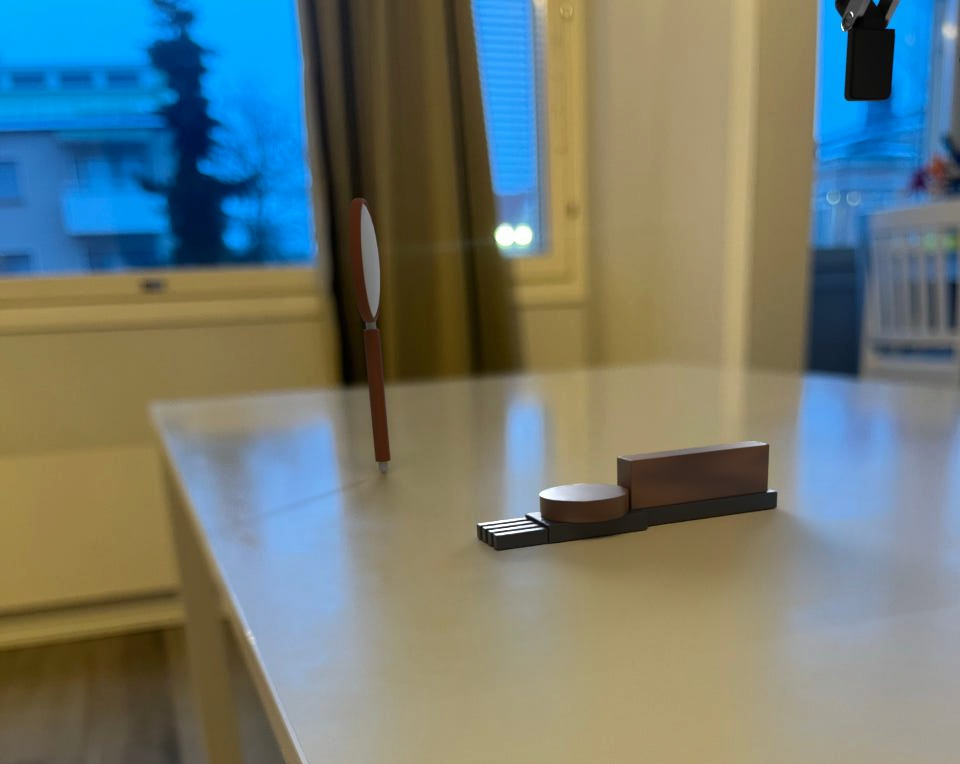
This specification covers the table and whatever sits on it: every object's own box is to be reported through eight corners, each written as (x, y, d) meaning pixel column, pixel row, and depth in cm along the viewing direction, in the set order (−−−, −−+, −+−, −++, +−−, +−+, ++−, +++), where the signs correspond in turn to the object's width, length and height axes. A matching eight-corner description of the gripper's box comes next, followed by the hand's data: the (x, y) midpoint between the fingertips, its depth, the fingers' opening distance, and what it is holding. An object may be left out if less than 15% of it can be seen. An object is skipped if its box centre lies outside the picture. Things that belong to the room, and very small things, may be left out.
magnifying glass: (387, 483, 74) (361, 191, 67) (364, 484, 74) (336, 193, 67) (401, 464, 82) (379, 202, 76) (381, 464, 82) (357, 203, 76)
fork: (749, 499, 61) (750, 483, 61) (784, 509, 58) (785, 493, 58) (476, 537, 56) (475, 519, 56) (497, 550, 53) (496, 532, 53)
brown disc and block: (735, 482, 62) (737, 437, 61) (784, 496, 57) (786, 447, 56) (527, 510, 58) (525, 462, 57) (561, 527, 53) (559, 475, 52)
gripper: (1152, -360, 47) (1097, 51, 53) (896, -193, 62) (875, 110, 68) (1027, -382, 45) (985, 49, 50) (794, -203, 60) (782, 111, 66)
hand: (922, 84), depth 59 cm, fingers open, 9 cm apart
